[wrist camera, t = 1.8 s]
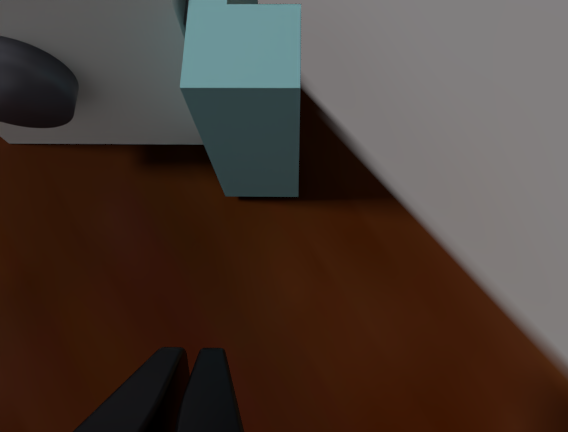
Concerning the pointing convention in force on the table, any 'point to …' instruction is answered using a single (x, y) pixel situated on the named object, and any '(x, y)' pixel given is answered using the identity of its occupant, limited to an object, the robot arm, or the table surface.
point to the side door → (246, 92)
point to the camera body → (93, 72)
